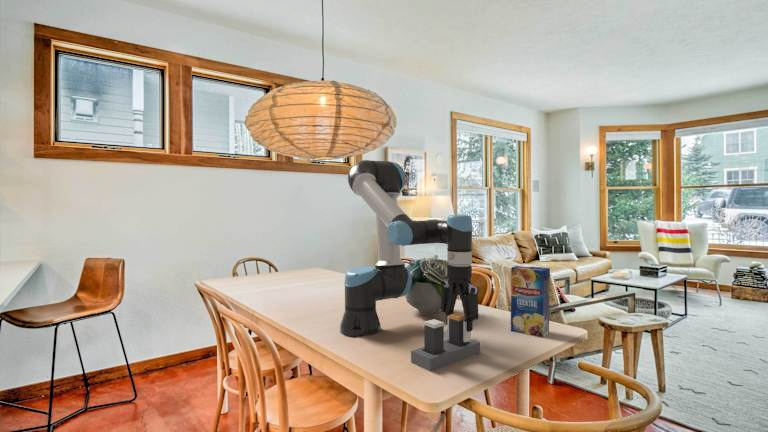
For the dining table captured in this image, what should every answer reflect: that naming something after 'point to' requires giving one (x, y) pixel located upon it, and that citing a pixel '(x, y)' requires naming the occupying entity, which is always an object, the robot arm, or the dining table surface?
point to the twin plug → (434, 337)
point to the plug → (456, 329)
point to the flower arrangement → (427, 285)
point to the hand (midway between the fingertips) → (458, 338)
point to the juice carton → (530, 300)
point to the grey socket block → (444, 355)
